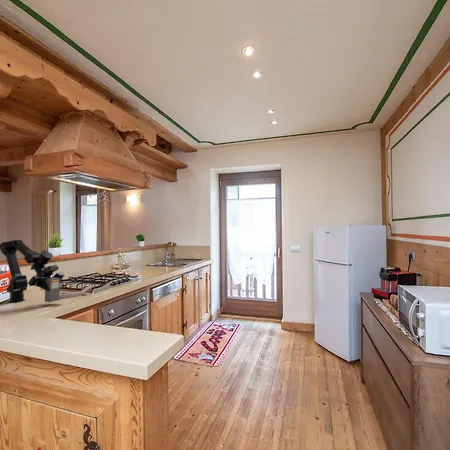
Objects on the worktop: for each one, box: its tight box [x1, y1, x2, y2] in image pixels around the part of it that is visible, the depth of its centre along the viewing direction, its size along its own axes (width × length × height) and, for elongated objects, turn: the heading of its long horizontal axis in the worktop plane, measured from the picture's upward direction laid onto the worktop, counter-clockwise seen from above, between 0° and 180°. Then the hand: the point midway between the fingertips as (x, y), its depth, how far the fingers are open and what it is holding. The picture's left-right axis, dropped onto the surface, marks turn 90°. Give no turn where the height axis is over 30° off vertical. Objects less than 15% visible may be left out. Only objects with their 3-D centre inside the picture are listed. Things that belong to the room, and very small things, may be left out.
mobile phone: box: [59, 284, 94, 300], centre depth 180 cm, size 6×6×25 cm
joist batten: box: [37, 302, 63, 308], centre depth 155 cm, size 12×5×1 cm, turn 76°
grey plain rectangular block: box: [44, 278, 61, 303], centre depth 157 cm, size 4×6×13 cm
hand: (54, 289), depth 157 cm, fingers closed on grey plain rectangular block, 6 cm apart
